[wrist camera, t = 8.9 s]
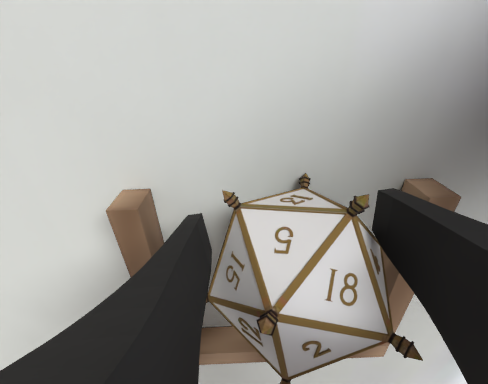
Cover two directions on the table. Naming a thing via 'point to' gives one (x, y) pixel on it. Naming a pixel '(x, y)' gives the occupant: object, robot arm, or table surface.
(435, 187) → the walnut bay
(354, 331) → the game die
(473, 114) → the table surface
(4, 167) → the table surface
